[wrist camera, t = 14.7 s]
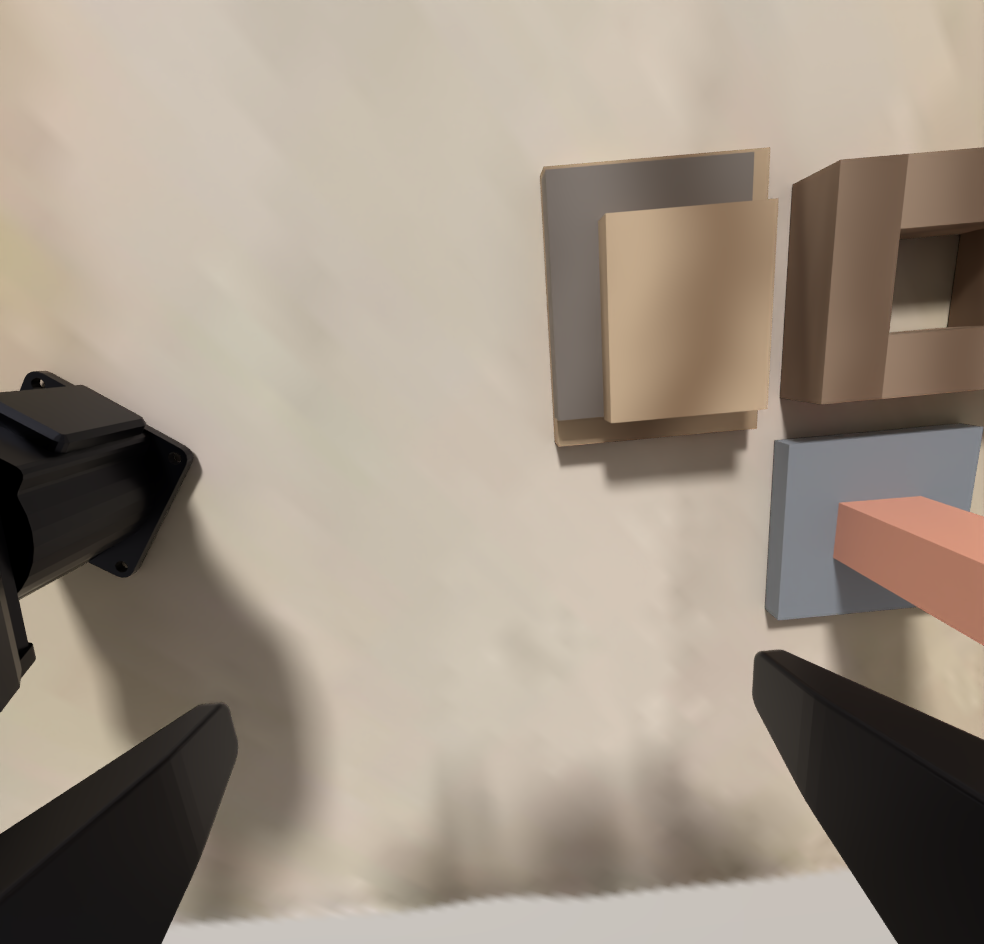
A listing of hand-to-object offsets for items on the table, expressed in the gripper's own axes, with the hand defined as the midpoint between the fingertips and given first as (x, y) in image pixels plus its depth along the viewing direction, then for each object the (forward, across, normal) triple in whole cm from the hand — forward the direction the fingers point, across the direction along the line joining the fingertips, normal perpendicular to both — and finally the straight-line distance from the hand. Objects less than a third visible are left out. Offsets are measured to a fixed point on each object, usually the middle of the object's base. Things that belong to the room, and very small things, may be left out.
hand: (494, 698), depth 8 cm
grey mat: (+13, -16, +3) cm, 21 cm away
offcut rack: (+13, -12, -7) cm, 19 cm away
